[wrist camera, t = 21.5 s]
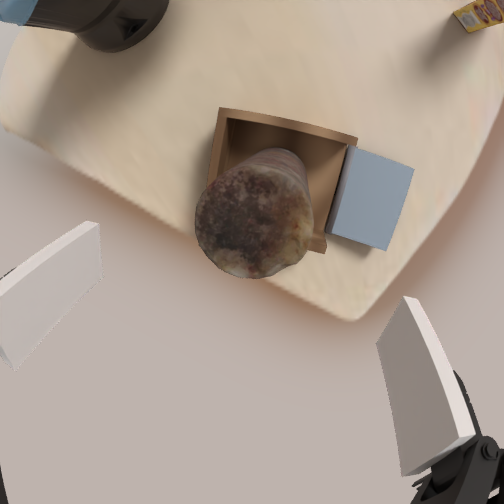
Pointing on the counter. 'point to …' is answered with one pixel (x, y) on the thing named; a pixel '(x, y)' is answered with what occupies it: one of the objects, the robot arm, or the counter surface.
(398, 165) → the panel
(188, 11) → the counter surface
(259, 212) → the candle
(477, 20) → the candy box
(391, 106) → the counter surface
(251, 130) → the box
